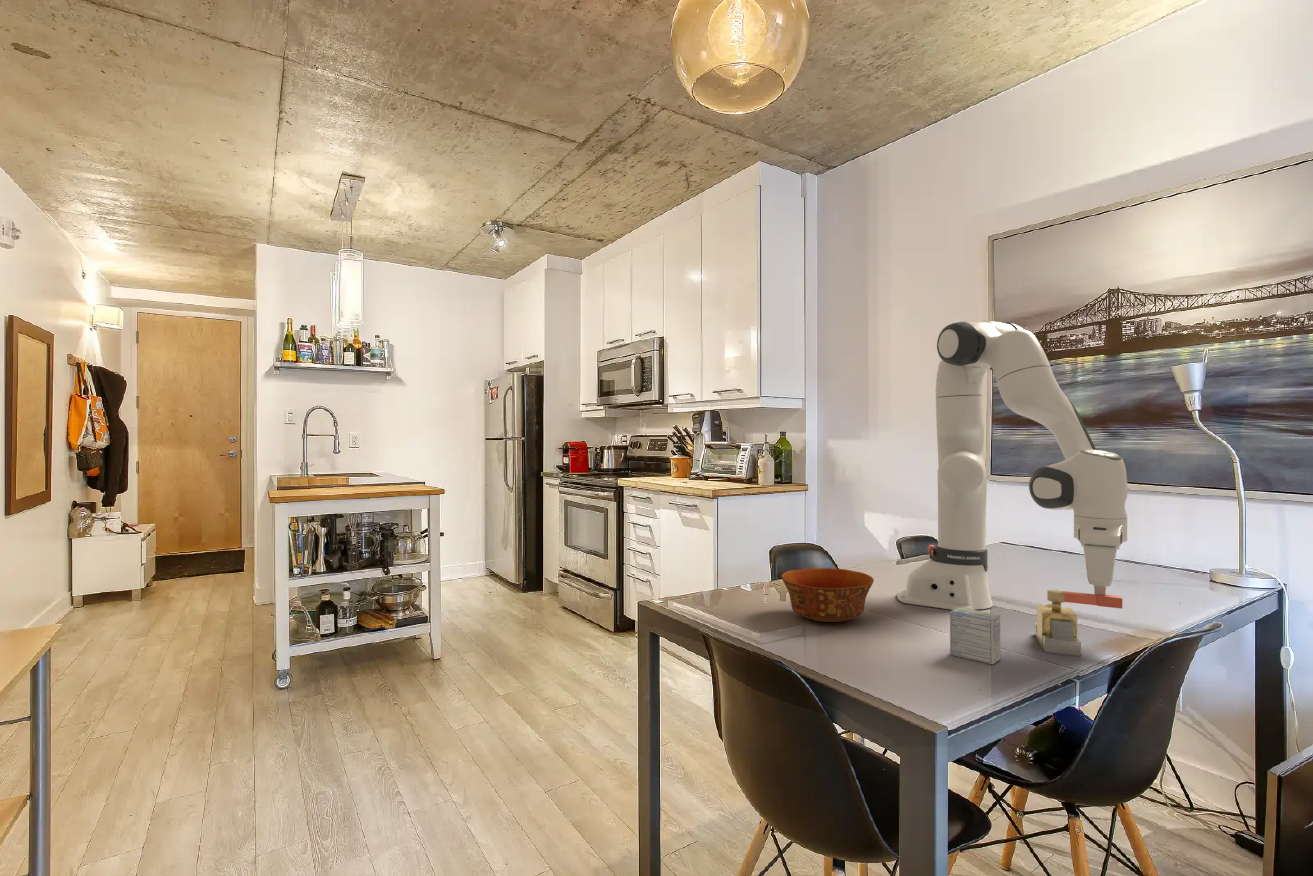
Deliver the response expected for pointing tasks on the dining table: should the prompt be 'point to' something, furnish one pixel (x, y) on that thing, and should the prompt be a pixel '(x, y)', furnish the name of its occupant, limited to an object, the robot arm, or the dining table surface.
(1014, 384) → the robot arm
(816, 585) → the bowl
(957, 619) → the medicine box
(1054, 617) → the valve
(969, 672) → the dining table surface
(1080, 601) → the lever
